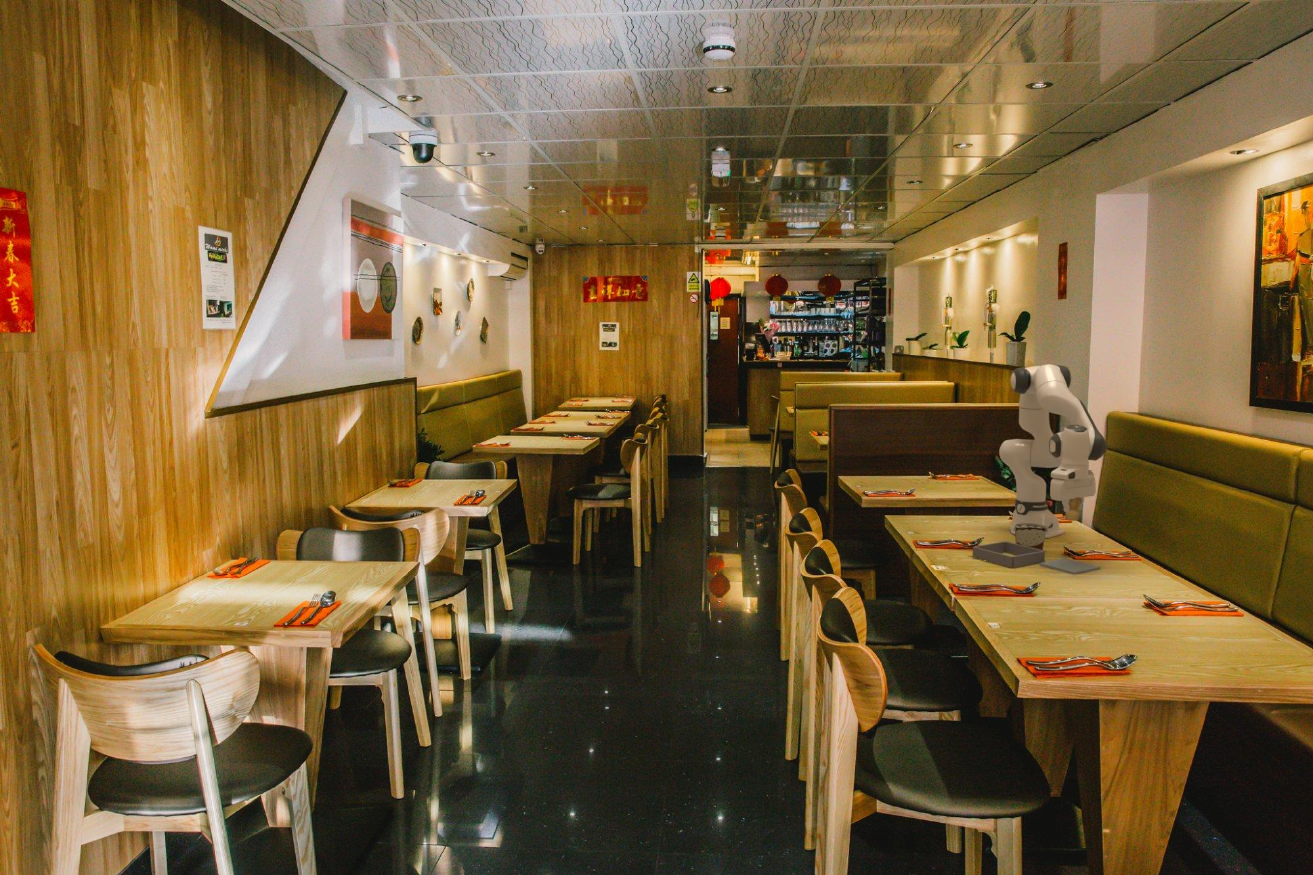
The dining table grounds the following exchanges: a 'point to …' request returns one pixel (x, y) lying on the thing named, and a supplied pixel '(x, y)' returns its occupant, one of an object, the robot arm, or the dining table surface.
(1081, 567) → the mat
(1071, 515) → the peg
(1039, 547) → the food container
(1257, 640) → the dining table surface
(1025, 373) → the robot arm
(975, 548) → the frame
